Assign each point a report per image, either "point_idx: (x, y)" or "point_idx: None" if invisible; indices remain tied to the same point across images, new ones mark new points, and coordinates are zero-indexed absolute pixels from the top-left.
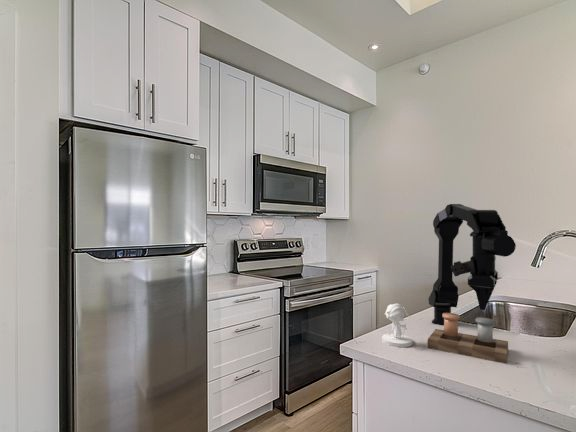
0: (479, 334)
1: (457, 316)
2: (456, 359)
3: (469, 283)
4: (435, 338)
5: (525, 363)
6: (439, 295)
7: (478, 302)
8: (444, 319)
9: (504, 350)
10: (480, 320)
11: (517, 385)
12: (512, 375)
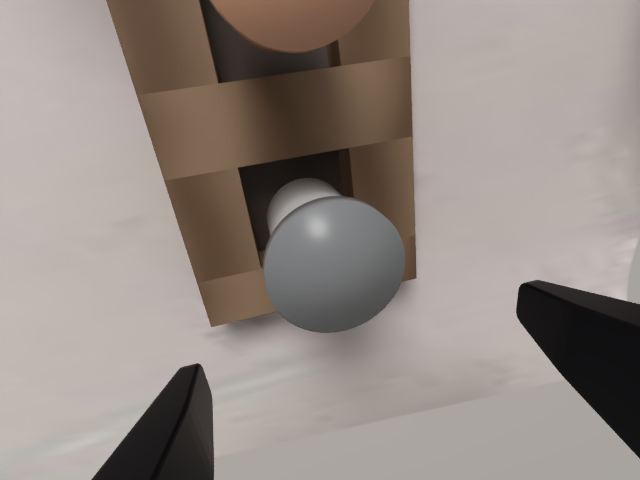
0: (276, 208)
1: (278, 29)
2: (53, 114)
3: None
4: None
5: (279, 341)
6: None
7: (116, 448)
8: None
9: (261, 305)
10: (291, 253)
11: (5, 385)
12: (97, 348)
